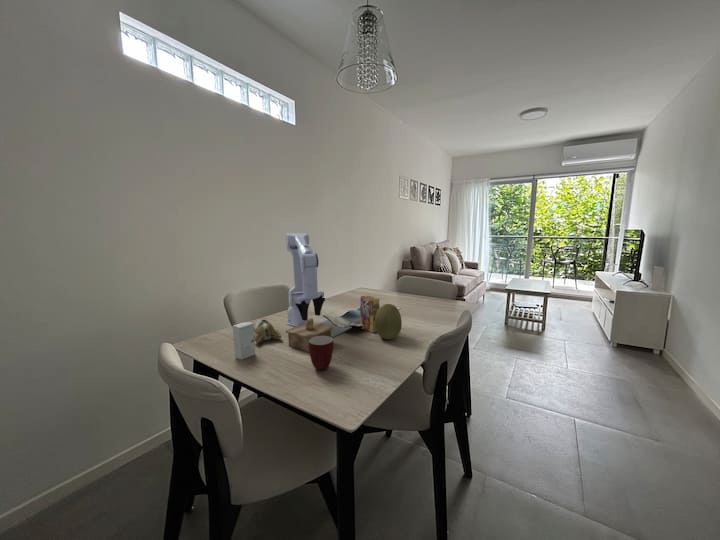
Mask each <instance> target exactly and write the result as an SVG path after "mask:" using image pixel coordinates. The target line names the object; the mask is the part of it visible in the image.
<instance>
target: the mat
mask: <svg viewBox="0 0 720 540" xmlns="http://www.w3.org/2000/svg"><path fill="white" fill-rule="evenodd" d="M328 320H329V319H326V320H324V321H322V322H320V323H318V324H322V325H326V326H330V327H333V329H332V330H331V338H332V339H334V338H335V337H338V336H339V335H341V334H344V333H345V332H346V331H349V330H351V329H353V328H352V327H347V328H340V327H337V326H335V325H333V324H332V323H331V322H329V321H328Z"/></svg>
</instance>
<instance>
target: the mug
mask: <svg viewBox="0 0 720 540" xmlns="http://www.w3.org/2000/svg"><path fill="white" fill-rule="evenodd" d="M333 350H334V338H332V337H329V336H315V337H312V338H310V339H309V352H308V353H309V356H310V360H311V364H312V366H313V367H314V369H315V370H316V371H318V372H323V371H326V370H328V369H329V366H330V364H331V362H332V359H333V358H332V357H333Z"/></svg>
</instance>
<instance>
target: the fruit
mask: <svg viewBox="0 0 720 540" xmlns="http://www.w3.org/2000/svg"><path fill="white" fill-rule="evenodd" d="M402 324H403V323H402V316H401V313H400V311H399V309H398V308H397V307H396V306H395V305H394V304H391V303H385V304H383V305H381V306H379V309H378V311H377V313H376V316H375V329H376V331H377V332H376V333H377V334H378V336H379V337H381V338H382V339H385V340H394V339H396V338H397V337H398V336H399V334H400V332H401V330H402V326H403V325H402Z"/></svg>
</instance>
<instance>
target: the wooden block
mask: <svg viewBox="0 0 720 540" xmlns="http://www.w3.org/2000/svg"><path fill="white" fill-rule="evenodd" d="M332 329H333V327H330V326H326V325H322V324H319V323H317V322H314V318H312V317H308V319H307V320H306V323H304V324H301V325H299V326H297V327H296V326H293V327H291V328H289V329H287V330H286V331H285V333H287V334H288V333H289V334H292V335H296V336H300V337H303V338H307V339H310V338H312V337H315V336H320V335H322V334H324V333H326V332H328V331H330V330H332Z"/></svg>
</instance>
